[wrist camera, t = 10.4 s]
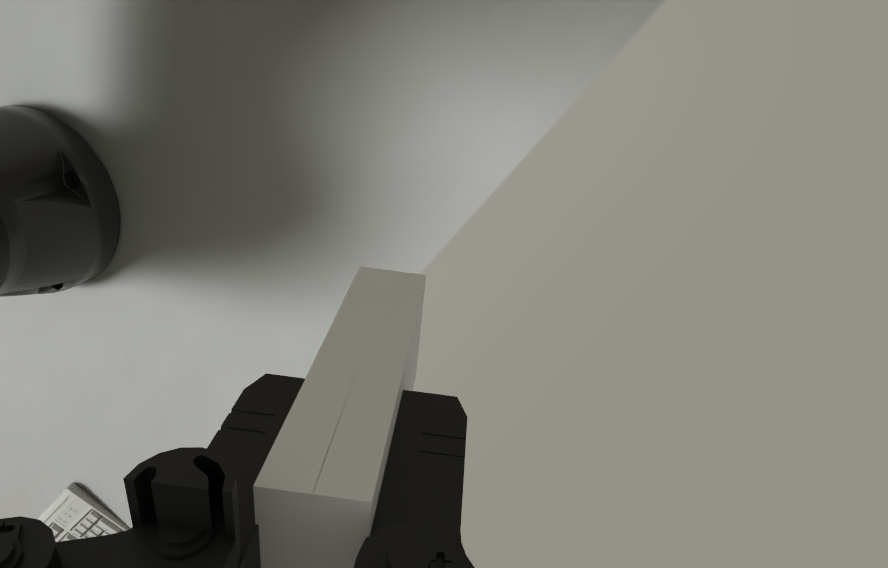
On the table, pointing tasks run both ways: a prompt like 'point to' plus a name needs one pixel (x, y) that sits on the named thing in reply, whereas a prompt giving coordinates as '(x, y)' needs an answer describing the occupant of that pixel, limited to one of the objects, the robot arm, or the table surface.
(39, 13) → the table surface
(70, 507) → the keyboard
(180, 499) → the robot arm
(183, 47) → the table surface
